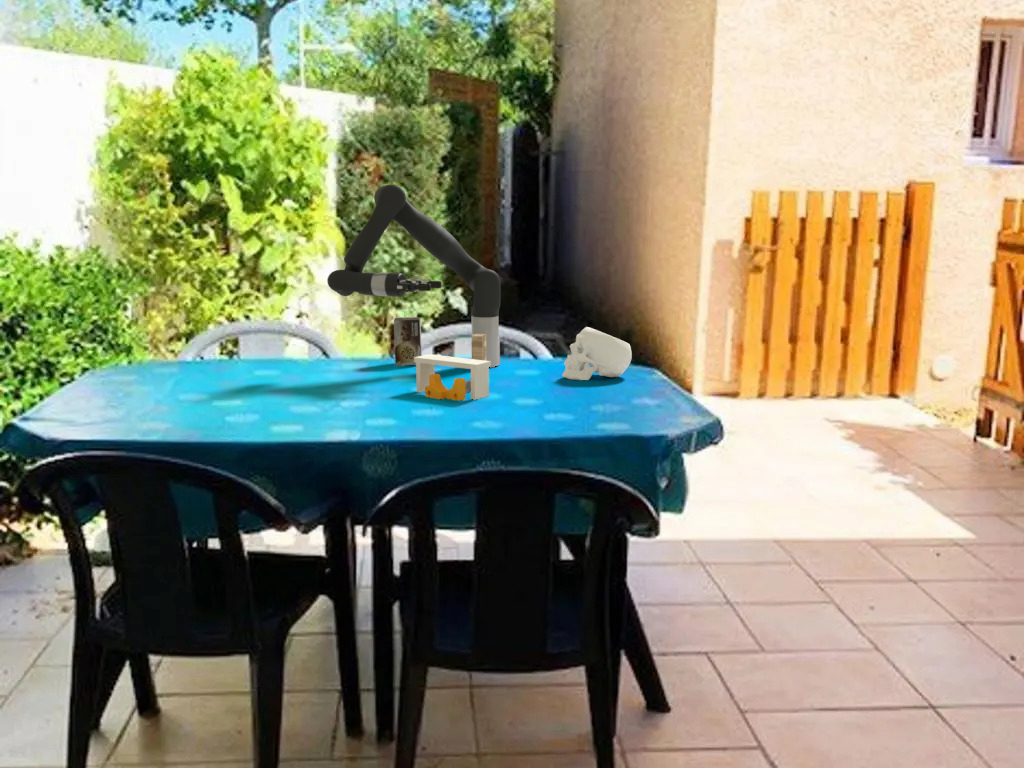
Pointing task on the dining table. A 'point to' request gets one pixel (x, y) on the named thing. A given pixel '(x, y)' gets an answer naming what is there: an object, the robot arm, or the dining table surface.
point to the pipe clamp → (441, 391)
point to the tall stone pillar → (477, 353)
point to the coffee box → (407, 340)
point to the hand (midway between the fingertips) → (435, 286)
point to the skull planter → (596, 355)
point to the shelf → (478, 367)
